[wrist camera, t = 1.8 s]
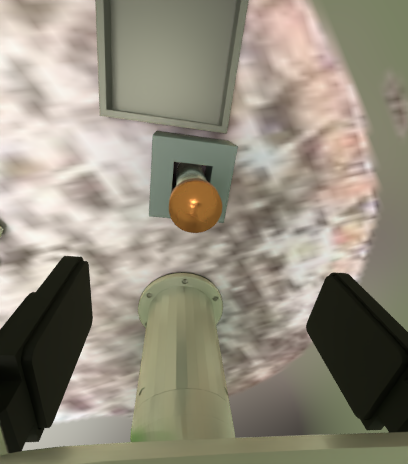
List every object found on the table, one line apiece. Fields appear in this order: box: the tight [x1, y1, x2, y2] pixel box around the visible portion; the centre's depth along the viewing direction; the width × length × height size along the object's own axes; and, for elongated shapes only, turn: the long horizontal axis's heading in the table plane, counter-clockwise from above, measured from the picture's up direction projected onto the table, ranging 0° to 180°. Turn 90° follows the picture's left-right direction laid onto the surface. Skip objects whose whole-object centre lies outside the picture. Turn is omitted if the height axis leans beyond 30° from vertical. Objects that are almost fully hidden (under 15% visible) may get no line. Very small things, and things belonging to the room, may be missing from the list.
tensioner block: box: [149, 131, 238, 223], centre depth 27 cm, size 8×8×5 cm
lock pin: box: [169, 162, 222, 233], centre depth 24 cm, size 4×4×12 cm
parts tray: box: [95, 0, 248, 133], centre depth 23 cm, size 12×12×3 cm
